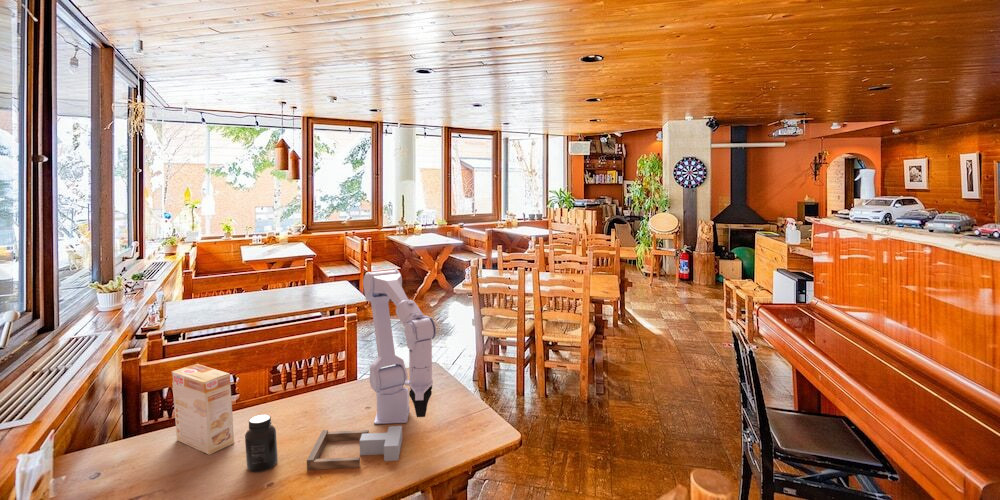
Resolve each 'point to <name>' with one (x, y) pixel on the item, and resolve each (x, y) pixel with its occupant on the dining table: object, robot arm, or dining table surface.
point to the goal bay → (333, 463)
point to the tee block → (382, 443)
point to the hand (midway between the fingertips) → (421, 414)
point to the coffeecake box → (203, 408)
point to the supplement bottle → (261, 444)
